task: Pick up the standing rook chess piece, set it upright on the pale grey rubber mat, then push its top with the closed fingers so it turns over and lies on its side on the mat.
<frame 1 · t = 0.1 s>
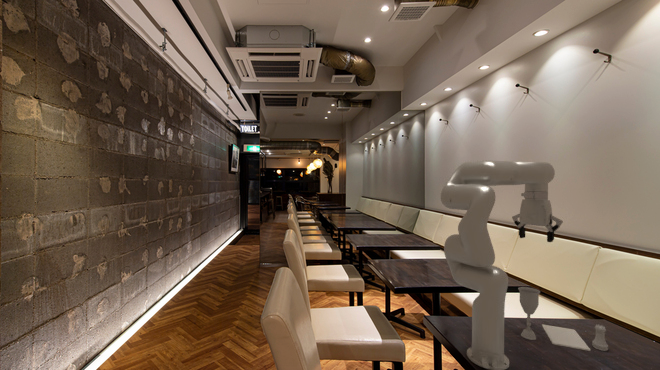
hand: (535, 239, 117), 37 cm above the table, tool pointing down, fingers open, 9 cm apart
rook chess piece: (600, 348, 107), on the table
chalice: (528, 336, 115), on the table
grey mat: (564, 337, 115), on the table
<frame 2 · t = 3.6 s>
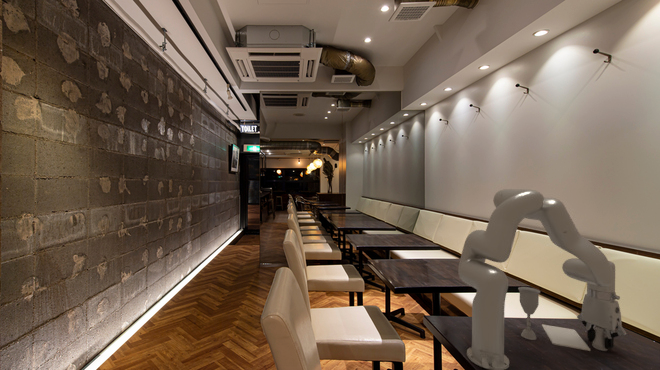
hand: (600, 344, 107), 1 cm above the table, tool pointing down, fingers closed on rook chess piece, 4 cm apart
rook chess piece: (600, 348, 107), on the table, touching gripper
everything else where it was.
when the fingers open (3 cm above the table, at t = 9.5 s): rook chess piece stays where it is, resting on grey mat.
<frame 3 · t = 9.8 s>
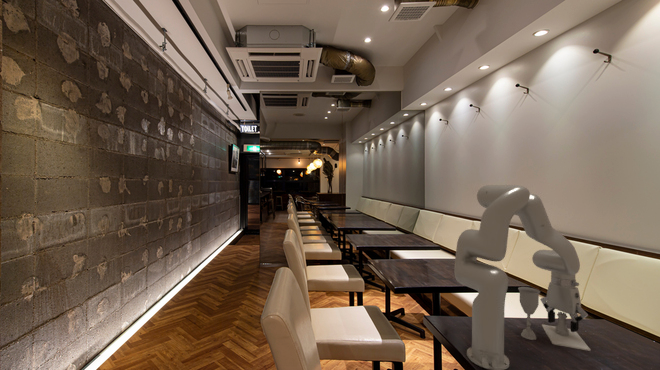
hand: (562, 326, 117), 3 cm above the table, tool pointing down, fingers open, 7 cm apart
rook chess piece: (562, 334, 117), resting on grey mat
everything else where it was.
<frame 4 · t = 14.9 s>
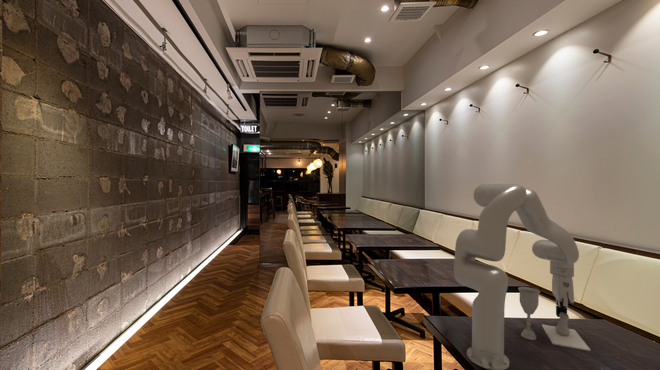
hand: (561, 316, 118), 6 cm above the table, tool pointing down, fingers closed
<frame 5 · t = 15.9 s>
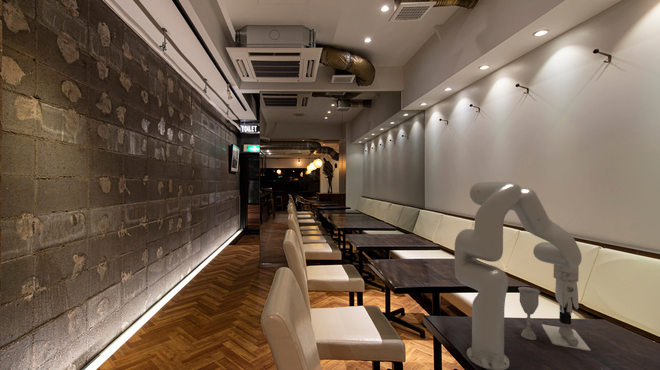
hand: (565, 323, 114), 6 cm above the table, tool pointing down, fingers closed
rook chess piece: (564, 330, 114), point 3 cm above the table, touching grey mat
everything else where it was.
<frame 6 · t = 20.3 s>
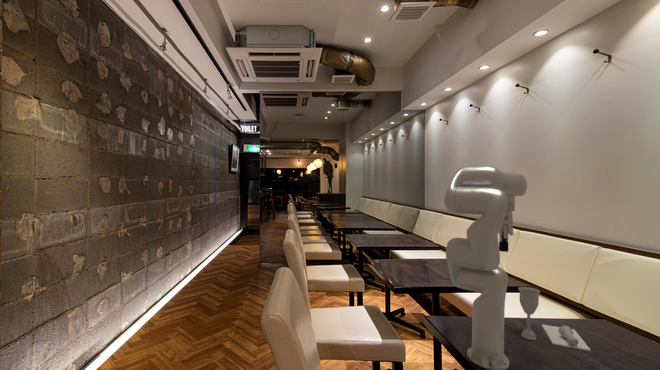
hand: (503, 251, 124), 31 cm above the table, tool pointing down, fingers closed
nothing on the table moved.
at the end: rook chess piece tilted 95°; rook chess piece inside the target area on the grey mat (0.7 cm from its centre), point 2.8 cm above the grey mat's base; the gripper is holding nothing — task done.
